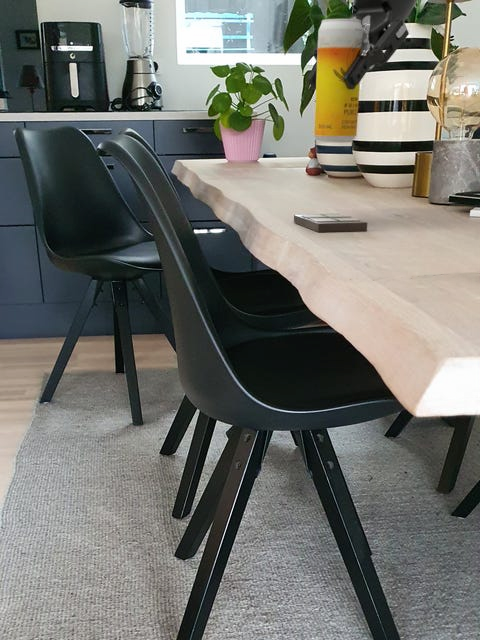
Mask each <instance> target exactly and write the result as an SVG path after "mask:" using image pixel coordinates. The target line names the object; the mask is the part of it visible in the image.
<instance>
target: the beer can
mask: <svg viewBox="0 0 480 640" xmlns="http://www.w3.org/2000/svg"><path fill="white" fill-rule="evenodd" d="M362 37H363V28H362V25H361V20H358V19H348V18H328V19H322V20H321V24H320V26H319V28H318V33H317V42H318V52H317V61H316V63H317V75H316V90H315V99H314V101H315V102H314V123H313V126H314V127H313V136H314V137H315V139H316V142H318V143H333V144H334V143H335V144H336V143H338V144H341V143H353V140H355V138H356V137H357V134H358V133H357V131H358V117H359V115H358V114H359V100H360V88H361V87H360V84H361V82H360V83H358V84H357V86H356V87H355V89H348V88H347V86H346V84H345V83H344V81H343V76H344V75H345V73H346V72H347V70H348V69H349V67H350V66H351V64H352V63H353V61H354V60H355V58H356V57H360V54H359V53H360V48H361V46H362Z"/></svg>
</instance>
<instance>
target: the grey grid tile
mask: <svg viewBox="0 0 480 640" xmlns="http://www.w3.org/2000/svg"><path fill="white" fill-rule="evenodd" d="M293 223H294V224H296V225H299V226H302V227H304V228H307V229H309V230H311V231H314V232H317V233H345V232H348V233H349V232H367V231H368V222H367V221H364V220H362V219H358V218H355V217H352V216H349V215H346V214H343V213H305V214H304V213H303V214H301V213H299V214H293Z"/></svg>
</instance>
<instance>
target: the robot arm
mask: <svg viewBox="0 0 480 640" xmlns="http://www.w3.org/2000/svg"><path fill="white" fill-rule="evenodd" d="M418 2H419V0H353V3H352V12H351V15H350V16H349V17H348V18H347V19H358V20H361V25H362V28H363V37H362V46H361V48H360V53H359V54H360V57H356V58H355V60H354V61H353V63H352V64H351V66H350V67H349V69H348V70H347V72H346V73H345V75H344V76H343V81H344V83H345V84H346V86H347V88H348V89H355V87H356V86H357V84H358V83H360V84H361V81H362V80H363V78H364V77H365V75H366V73H367V72H368V71H370V70H372V69H373V68H374V67H375V66H376V65H377V64H378V66H379V67H383V66H385V65H386V64H387V63H388V61H389V60H390V59H391V57H392V56H393V55H394V54H395V52H396V51H397V50H398V49H399V47H401V45H402V44H403V42H404V41H405V40H406V38H407V37H408V36H409V34H410V33H409V30H408V28H407V25H406V23H405V21H406V19H407V18H408V16H409V15H410V14H411V12H412V11H413V9H414V7H415V6H416V5H417V3H418ZM384 47H386V49H385V51H384V50H383V48H384ZM317 52H318V41H317V42H316V44H315V46H314V47H313V49H312V51H311V54H312V55H313V57H314V60H315V62H316V63H315V64H314V66H313V68H312V70H311V71H310V72H309V74H308V76H307V81H308V83H309V85H310V87H311V88H312V90H314V91H316V75H317Z"/></svg>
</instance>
